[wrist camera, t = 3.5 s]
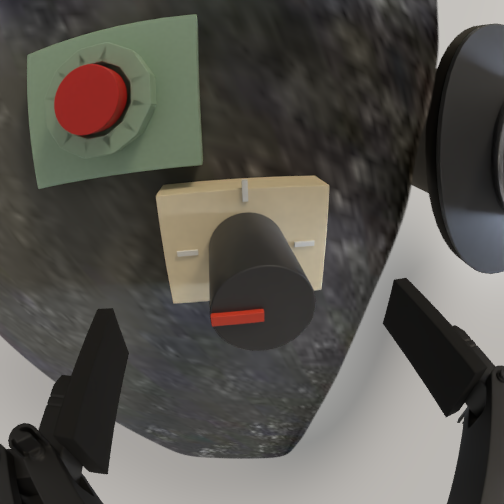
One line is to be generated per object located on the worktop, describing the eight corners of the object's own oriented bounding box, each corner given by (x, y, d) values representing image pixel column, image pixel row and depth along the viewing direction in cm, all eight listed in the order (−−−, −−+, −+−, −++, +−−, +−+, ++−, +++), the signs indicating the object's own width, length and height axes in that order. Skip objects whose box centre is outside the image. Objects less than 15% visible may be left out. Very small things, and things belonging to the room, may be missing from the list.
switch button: (126, 61, 13) (117, 56, 12) (129, 126, 15) (121, 128, 14) (65, 76, 13) (52, 74, 11) (69, 138, 15) (56, 141, 13)
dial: (284, 209, 19) (323, 263, 13) (283, 277, 21) (313, 348, 15) (205, 215, 19) (204, 274, 12) (212, 283, 21) (215, 360, 14)
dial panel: (315, 167, 21) (330, 176, 19) (309, 276, 25) (321, 297, 23) (161, 176, 20) (153, 187, 17) (177, 288, 24) (174, 311, 21)
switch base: (197, 23, 16) (195, 4, 12) (203, 159, 20) (201, 170, 17) (41, 58, 14) (13, 52, 11) (51, 181, 19) (25, 196, 15)
